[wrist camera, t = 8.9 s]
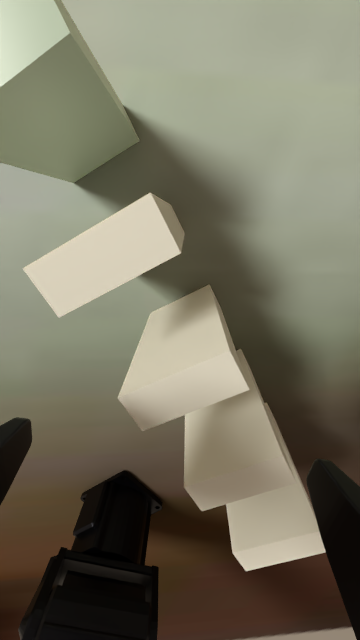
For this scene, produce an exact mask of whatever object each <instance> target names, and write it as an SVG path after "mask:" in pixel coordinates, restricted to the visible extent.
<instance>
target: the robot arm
mask: <svg viewBox="0 0 360 640" xmlns="http://www.w3.org/2000/svg"><path fill="white" fill-rule="evenodd" d="M31 443H32V430H31V421H30V420H29V419H26V418H19V417H17V418H13V419H12V420H10V421H8V422H6V423H4V424H3V425H1V426H0V505H1V503H2V501H3V499H4V498H5V496H6V494H7V492H8V490H9V488H10V486H11V484H12V482H13V480H14V478H15V476H16V474H17V472H18V470H19V468H20V466H21V464H22V462H23V460H24V458H25V456H26V454H27V452H28V450H29V448H30V446H31ZM307 486H308V490H309V494H310V498H311V502H312V505H313V509H314V513H315V517H316V521H317V524H318V528H319V532H320V535H321V539H322V542H323V545H324V548H325V551H326V554H327V557H328V559H329V562H330V565H331V568H332V571H333V574H334V576H335V579H336V582H337V585H338V588H339V591H340V593H341V596H342V599H343V602H344V605H345V607H346V610H347V613H348V616H349V619H350V622H351V624H352V627H353V630H354V633H355V636H356V639H357V640H360V487H359V486H358V485H357V484H356V483H355V482H354V481H353V480H352V479H350V478H349V477H348V476H347V475H346V474H345V473H344V472H342V471H341V470H340V469H339V468H338V467H337V466H336V465H335V464H333V463H332V462H331V461H329V460H324V459H316V460H315V461H314V462H313V465H312V467H311V469H310V471H309V473H308V475H307ZM81 500H82V501H83V502H84V504H83V506H82V509H81V512H80V515H79V517H78V520H77V523H76V526H75V528H74V531H73V535H74V536H75V540H74V543H73V546H72V549H71V550H67V548H64V547H61V549H60V551H59V554H58V555H57V556H54V557H51V558H50V561H49V563H48V566H47V568H46V571H45V573H44V576H43V578H42V580H41V583H40V585H39V587H38V589H37V591H36V593H35V595H34V597H33V599H32V601H31V603H30V605H29V607H28V609H27V611H26V613H25V615H24V617H23V619H22V621H21V624H20V627H19V634H20V638H21V640H157V627H158V567H157V566H152V567H150V566H145V557H146V549H147V541H148V533H149V525H150V517H151V514H153V513H155V512H157V511H159V510H161V509H162V502H161V501H160V500H159V499H158V498H156V497H155V496H154V495H153V494H152V493H151V492H149V491H148V490H147V489H146V488H145V487H144V486H142V485H141V484H140V483H139V482H138V481H137V480H136V479H134V478H133V477H132V476H131V475H130V474H129V473H127V472H125V471H122V472H120V473H118V474H116V475H115V476H113V477H111V478H109V479H107V480H105V481H104V482H102V483H100V484H98V485H96V486H95V487H93V488H91V489H89V490H87V491H86V492H84V493H82V496H81Z"/></svg>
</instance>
